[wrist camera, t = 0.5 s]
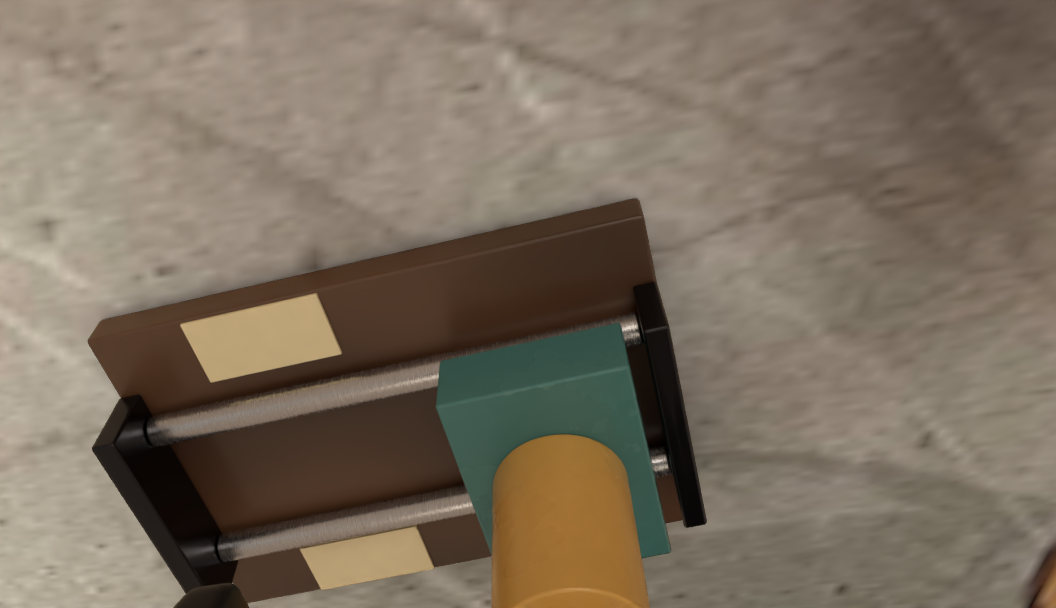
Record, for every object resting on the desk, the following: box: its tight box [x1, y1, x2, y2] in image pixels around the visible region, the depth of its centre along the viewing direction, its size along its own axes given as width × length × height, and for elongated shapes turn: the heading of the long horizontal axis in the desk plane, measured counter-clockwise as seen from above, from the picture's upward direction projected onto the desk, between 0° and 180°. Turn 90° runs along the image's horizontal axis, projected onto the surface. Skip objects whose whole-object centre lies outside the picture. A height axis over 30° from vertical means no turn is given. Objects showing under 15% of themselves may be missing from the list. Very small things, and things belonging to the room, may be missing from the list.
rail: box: [88, 199, 707, 603], centre depth 24 cm, size 10×14×3 cm
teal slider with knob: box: [436, 323, 671, 608], centre depth 20 cm, size 6×4×7 cm
